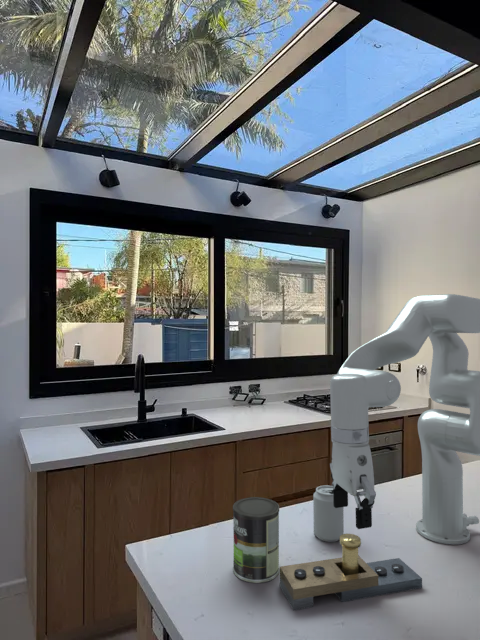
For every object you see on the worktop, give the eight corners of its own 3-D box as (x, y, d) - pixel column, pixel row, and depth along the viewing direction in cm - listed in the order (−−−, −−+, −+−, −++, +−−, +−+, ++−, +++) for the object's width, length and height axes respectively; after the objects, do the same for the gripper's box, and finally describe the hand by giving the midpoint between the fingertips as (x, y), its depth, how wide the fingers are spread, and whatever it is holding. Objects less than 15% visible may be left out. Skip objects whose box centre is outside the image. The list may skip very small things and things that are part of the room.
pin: (354, 579, 94) (354, 532, 94) (364, 591, 90) (364, 542, 90) (336, 582, 93) (336, 534, 93) (345, 594, 89) (345, 544, 89)
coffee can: (244, 588, 91) (244, 519, 91) (226, 563, 101) (225, 501, 101) (288, 576, 95) (288, 511, 95) (266, 553, 105) (266, 493, 105)
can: (344, 544, 109) (343, 495, 109) (313, 541, 110) (312, 493, 110) (343, 530, 116) (342, 484, 116) (314, 528, 117) (313, 482, 117)
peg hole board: (399, 567, 99) (398, 546, 99) (422, 588, 91) (421, 565, 91) (279, 585, 92) (279, 563, 92) (293, 610, 84) (293, 586, 84)
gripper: (389, 444, 84) (391, 533, 84) (346, 423, 101) (348, 497, 101) (353, 448, 82) (356, 539, 82) (315, 425, 99) (317, 502, 99)
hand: (351, 516), depth 92 cm, fingers open, 9 cm apart
